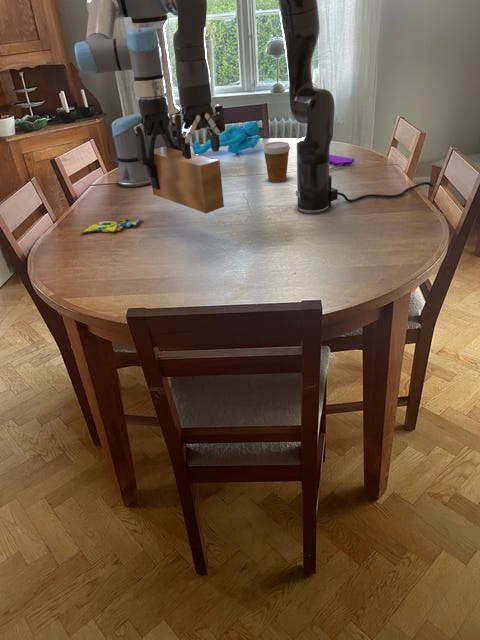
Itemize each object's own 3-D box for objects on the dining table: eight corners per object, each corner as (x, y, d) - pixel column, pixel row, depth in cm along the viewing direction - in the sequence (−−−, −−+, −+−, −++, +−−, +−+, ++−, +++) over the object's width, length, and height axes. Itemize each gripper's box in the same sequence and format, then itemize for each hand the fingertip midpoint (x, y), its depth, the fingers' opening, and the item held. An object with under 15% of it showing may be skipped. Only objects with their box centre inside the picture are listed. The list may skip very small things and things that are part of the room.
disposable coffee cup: (260, 182, 170) (258, 147, 164) (269, 174, 177) (267, 141, 171) (286, 183, 167) (285, 148, 160) (294, 175, 174) (293, 141, 168)
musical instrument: (342, 175, 173) (362, 153, 185) (341, 169, 172) (361, 148, 184) (283, 174, 186) (305, 153, 198) (282, 169, 184) (305, 148, 196)
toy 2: (197, 135, 216) (259, 115, 206) (205, 158, 221) (266, 140, 211) (186, 144, 203) (252, 124, 192) (195, 169, 208) (260, 150, 198)
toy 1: (130, 230, 139) (81, 231, 142) (130, 232, 140) (82, 234, 142) (140, 217, 148) (94, 218, 150) (141, 219, 148) (95, 221, 151)
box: (153, 194, 139) (145, 151, 132) (170, 188, 142) (163, 146, 136) (205, 213, 122) (200, 165, 116) (224, 206, 126) (219, 159, 119)
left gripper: (127, 104, 117) (144, 196, 130) (189, 92, 127) (200, 178, 140) (112, 102, 122) (130, 191, 135) (174, 90, 132) (185, 174, 145)
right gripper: (177, 87, 104) (187, 163, 112) (228, 78, 111) (233, 150, 120) (158, 86, 109) (169, 159, 117) (208, 77, 116) (215, 146, 125)
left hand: (166, 184), depth 137 cm, fingers closed on box, 6 cm apart
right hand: (202, 154), depth 119 cm, fingers open, 8 cm apart
